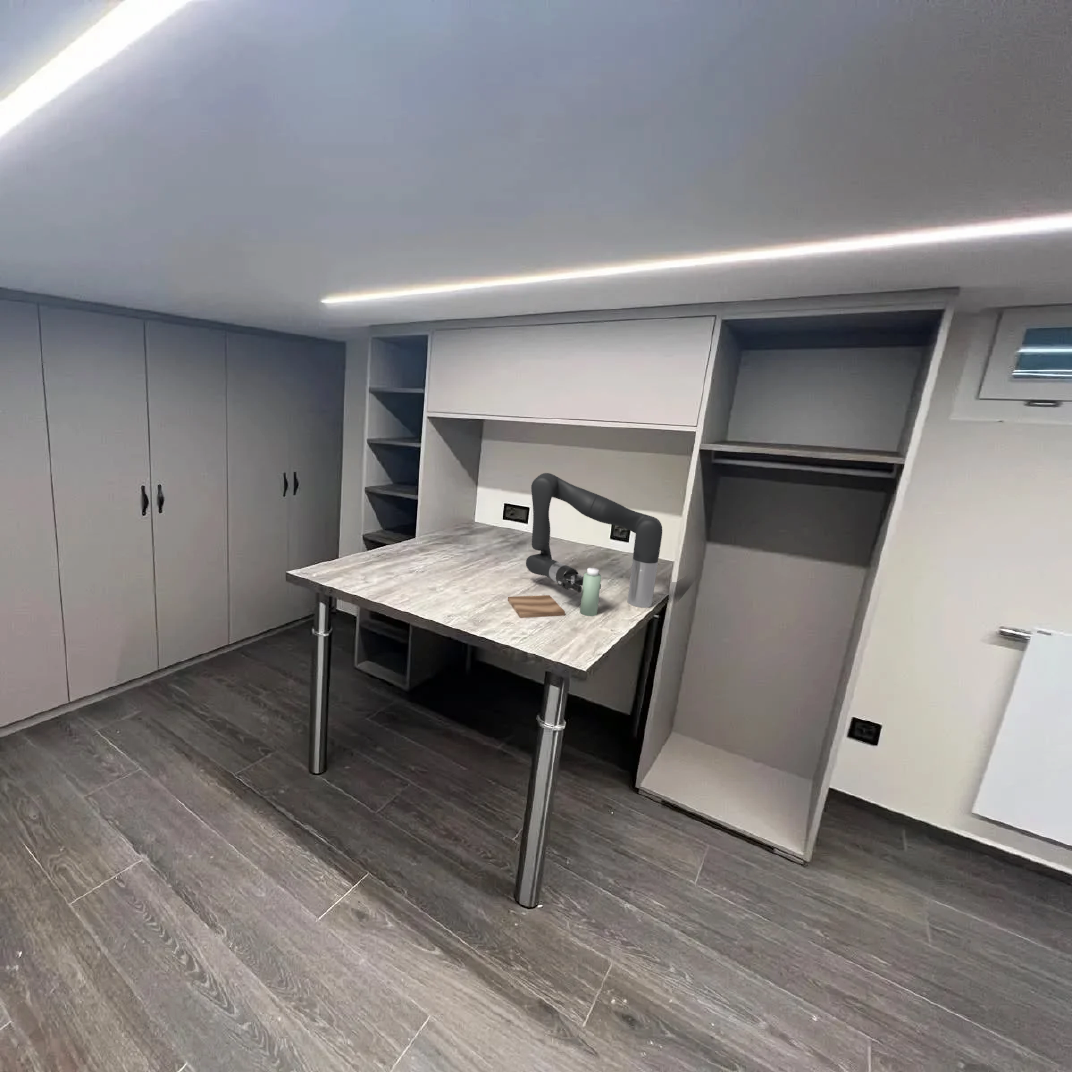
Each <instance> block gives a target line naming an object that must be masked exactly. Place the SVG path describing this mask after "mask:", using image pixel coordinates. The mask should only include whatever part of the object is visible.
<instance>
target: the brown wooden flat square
mask: <svg viewBox="0 0 1072 1072" xmlns="http://www.w3.org/2000/svg"><path fill="white" fill-rule="evenodd" d="M507 602H508V603H509V605H510V606H511V607H512V609H513V610H514V611H515V613H516V614H517V616H518V618H519V619H525V618H541V617H542V618H543V617H559V616H560V617H562V616H563V617H564V616H566V611H565V610H564V608H562V606H560V604H559V603H558V602H556V600H555V599H554V598H553V597H552V596H551V595H549V594H546V595H540V594H539V595H519V596H518V595H517V596H515V595H513V596H507Z"/></svg>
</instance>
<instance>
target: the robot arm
mask: <svg viewBox="0 0 1072 1072" xmlns="http://www.w3.org/2000/svg"><path fill="white" fill-rule="evenodd" d="M530 488H531V490H530V491H531V501H532V513H533V515H532V534H531V547H532V549H533V550H535V551H540V553H537V554H530V555H529V556H528V557H527V558H526V561H525V566H526V568H527V570H528V571H529V572H531V573H532V574H535V575H538V576H539V575H540V576H544V577H548V579H551V580H552V581H553V582H555V583H557V586H558V587H561V588H562V589H564V590H566V591H567V590H573V591H576V592H577V593H582V588H583V578H584V575H582V574H579V572H578V571H577V570H576V568H573V567H571V566H569V565H568V564H565V563H562V562H559V561H557V560H556V559H553V558H552V552H551V547H550V540H551V523H550V507H551V502H552V498H555V499H558V500H560V501H562V502H565V503H567V504H569V505H570V506H571V507H572V508H574V509H575V510H576V511H577V512H579V513H580V514H581V515H583V516H584V517H586V518H589V519H592V520H594V521H597V522H599V523H603V524H607V525H611V526H616V527H620V528H623V529H626V530H628V531H630V532H632V533H634V534H635V537H634V545H633V551H632V552H633V554H632V555H633V556H632V563H631V570H630V579H629V584H628V585H629V586H628V591H627V592H628V594H627V603H628V605H631V606H633V607H637V608H642V609H643V608H651V607H652V606H653V600H654V591H655V586H656V585H655V584H656V580H657V579H656V578H657V571H658V565H659V564H658V563H659V557H660V552H661V545H662V539H663V526H662V523H661V521H660V520H659V519H658V518H656V517H655V516H652V515H648V514H646V513H641V512H639V511H636V510H632V509H630V508H628V507H625V506H624V505H622V504H621V503H618V502H616V501H613V500H611V499H610V498H607V497H605V496H602V495H600V494H597V493H595V492H592V491H590V490H588V489H585V488H582V487H580V486H576V485H574V484H572V483H570V482H568V481H566V480H564V479H562V478H561V477H558V476H556V475H554V474H552V473H550V472H544V473H541V474H540V475H538V476H537V477H535V479H533V481H532V482H531V487H530ZM601 587H602V584H601V583H600V590H601Z"/></svg>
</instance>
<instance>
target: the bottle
mask: <svg viewBox="0 0 1072 1072" xmlns="http://www.w3.org/2000/svg"><path fill="white" fill-rule="evenodd" d="M583 576H584V578H583V586H582V592H581V596H580V598H581V599H580V609H579V613H580V614H581V615H583V616H586V617H596V616H597V615H598V609H599V608H598V607H599V599H600V593H601V592H600V590H601V589H600V584H601V581H602V575H601V573H600V569H599V568H596V567H587V570H586V572H584V573H583Z"/></svg>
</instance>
